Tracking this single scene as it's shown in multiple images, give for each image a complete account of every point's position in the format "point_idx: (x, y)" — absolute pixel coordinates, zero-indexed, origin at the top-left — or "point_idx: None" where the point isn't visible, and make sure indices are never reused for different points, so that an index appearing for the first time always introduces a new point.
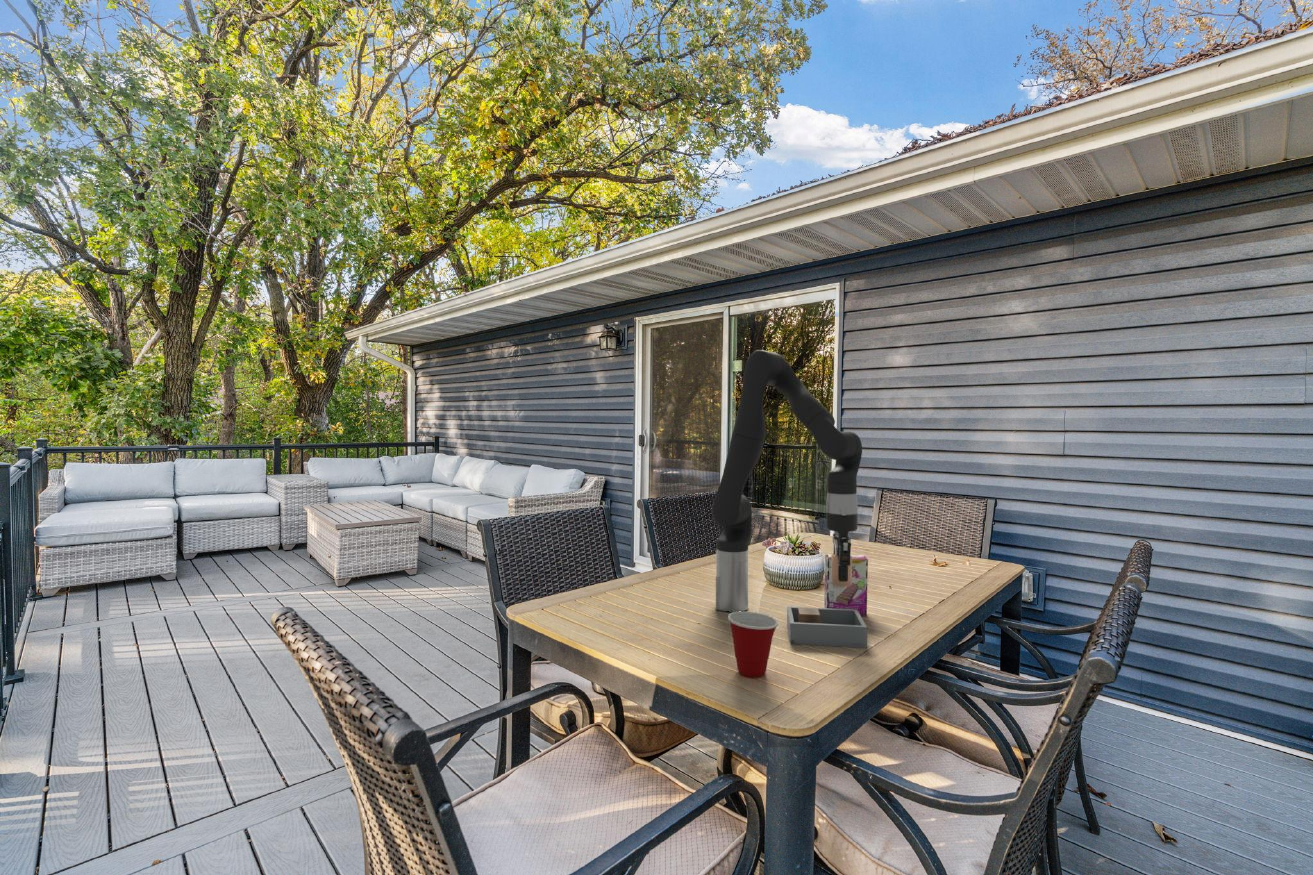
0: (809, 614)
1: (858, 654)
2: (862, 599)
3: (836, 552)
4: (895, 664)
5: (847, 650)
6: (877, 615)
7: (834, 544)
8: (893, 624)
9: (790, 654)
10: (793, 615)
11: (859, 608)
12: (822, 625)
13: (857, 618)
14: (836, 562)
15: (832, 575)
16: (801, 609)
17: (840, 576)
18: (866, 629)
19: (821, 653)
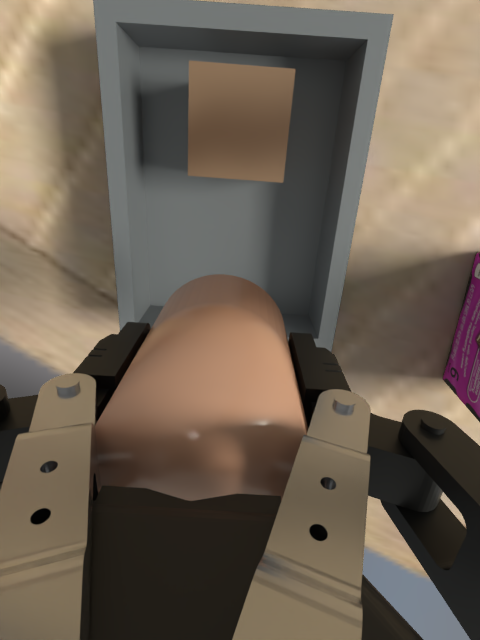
0: (189, 120)
1: (79, 274)
2: (476, 400)
3: (11, 461)
4: (32, 352)
5: (106, 248)
6: (446, 409)
7: (59, 560)
8: None
9: (5, 14)
10: (352, 65)
11: (459, 371)
12: (107, 171)
13: None
14: (124, 380)
15: (190, 297)
16: (270, 86)
17: (107, 344)
18: None
19: (54, 151)
